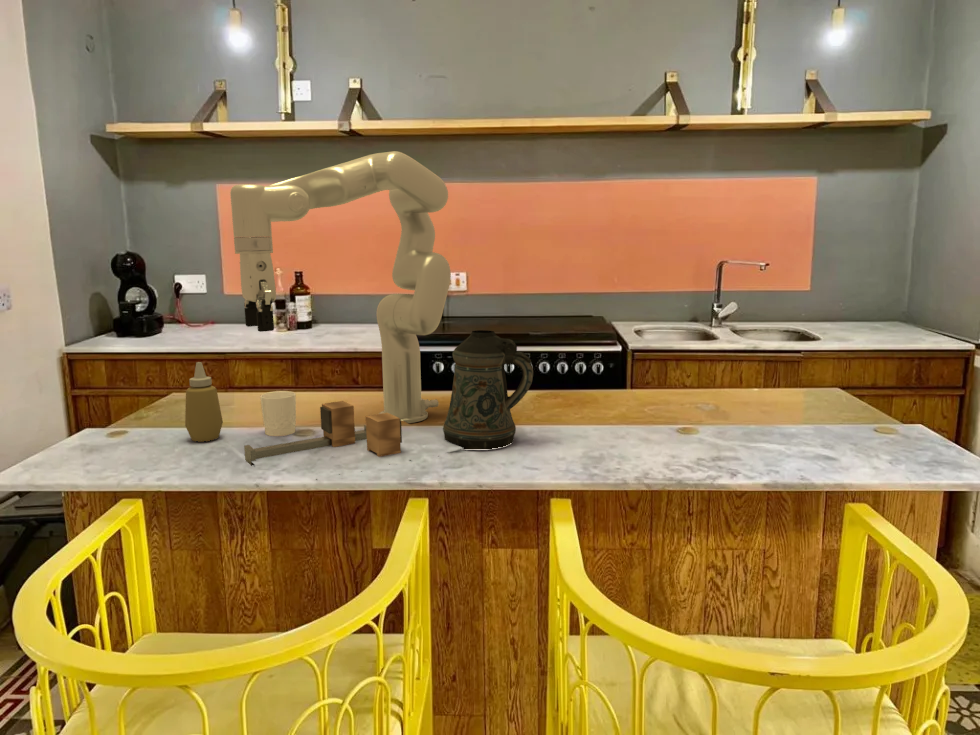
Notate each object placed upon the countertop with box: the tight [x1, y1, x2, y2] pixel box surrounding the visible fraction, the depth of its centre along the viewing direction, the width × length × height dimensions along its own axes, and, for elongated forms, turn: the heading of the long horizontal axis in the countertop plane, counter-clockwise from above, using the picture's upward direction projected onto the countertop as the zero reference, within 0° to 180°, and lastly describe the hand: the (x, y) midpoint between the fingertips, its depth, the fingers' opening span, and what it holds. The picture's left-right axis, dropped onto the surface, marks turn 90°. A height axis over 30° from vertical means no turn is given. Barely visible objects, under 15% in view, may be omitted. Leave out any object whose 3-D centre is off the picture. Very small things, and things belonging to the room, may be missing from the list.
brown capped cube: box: [365, 413, 403, 458], centre depth 151 cm, size 6×6×8 cm
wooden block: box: [319, 400, 356, 448], centre depth 157 cm, size 6×6×8 cm
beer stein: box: [442, 329, 534, 449], centre depth 160 cm, size 16×19×25 cm
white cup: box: [259, 390, 297, 437], centre depth 166 cm, size 8×8×10 cm
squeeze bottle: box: [184, 361, 224, 443], centre depth 163 cm, size 8×8×18 cm
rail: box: [243, 424, 367, 467], centre depth 155 cm, size 28×4×3 cm, turn 124°
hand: (259, 328), depth 151 cm, fingers open, 9 cm apart
